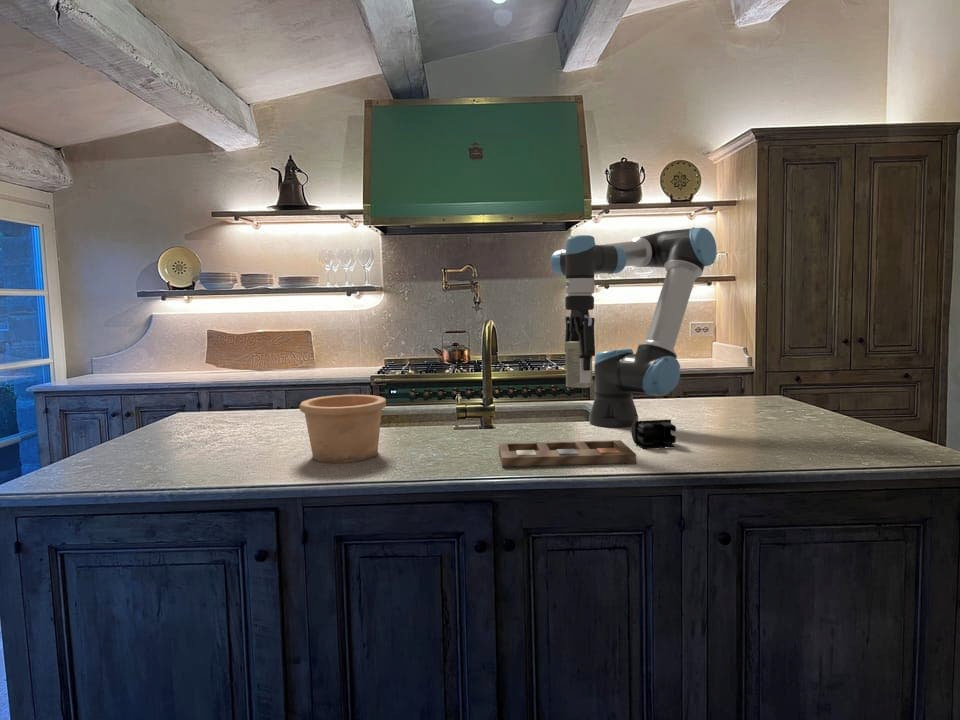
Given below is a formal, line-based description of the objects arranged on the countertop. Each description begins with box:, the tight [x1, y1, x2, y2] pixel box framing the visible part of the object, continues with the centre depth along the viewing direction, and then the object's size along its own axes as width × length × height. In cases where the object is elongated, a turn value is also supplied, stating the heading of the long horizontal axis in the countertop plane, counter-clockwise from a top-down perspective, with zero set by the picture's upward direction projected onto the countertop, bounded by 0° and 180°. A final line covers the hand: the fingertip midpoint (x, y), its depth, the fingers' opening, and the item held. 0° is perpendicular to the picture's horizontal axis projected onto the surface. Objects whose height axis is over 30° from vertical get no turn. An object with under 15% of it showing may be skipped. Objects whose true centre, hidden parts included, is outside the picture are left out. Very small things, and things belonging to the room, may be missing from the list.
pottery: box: [299, 394, 387, 464], centre depth 167 cm, size 22×22×14 cm
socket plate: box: [498, 439, 637, 469], centre depth 160 cm, size 32×15×3 cm, turn 92°
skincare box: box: [564, 341, 593, 389], centre depth 172 cm, size 6×4×12 cm
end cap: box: [631, 419, 677, 450], centre depth 171 cm, size 10×7×7 cm
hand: (579, 380), depth 172 cm, fingers closed on skincare box, 7 cm apart
